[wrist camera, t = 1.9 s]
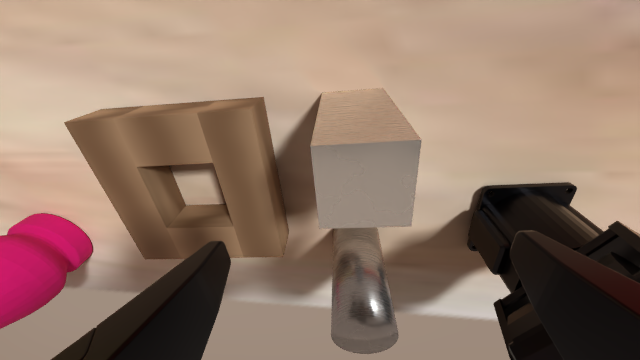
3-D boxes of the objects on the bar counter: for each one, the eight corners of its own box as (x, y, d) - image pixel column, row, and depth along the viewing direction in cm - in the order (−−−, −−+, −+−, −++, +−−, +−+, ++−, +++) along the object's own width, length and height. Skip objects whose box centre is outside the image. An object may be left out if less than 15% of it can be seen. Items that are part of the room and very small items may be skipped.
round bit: (378, 215, 22) (400, 316, 15) (377, 249, 24) (396, 354, 17) (331, 217, 23) (329, 316, 15) (334, 250, 25) (333, 353, 17)
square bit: (383, 88, 17) (421, 139, 9) (381, 144, 19) (411, 226, 11) (322, 92, 17) (310, 146, 10) (326, 147, 19) (319, 228, 12)
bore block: (263, 97, 18) (250, 109, 15) (289, 231, 24) (283, 256, 21) (101, 109, 19) (63, 122, 16) (164, 235, 25) (145, 259, 22)
